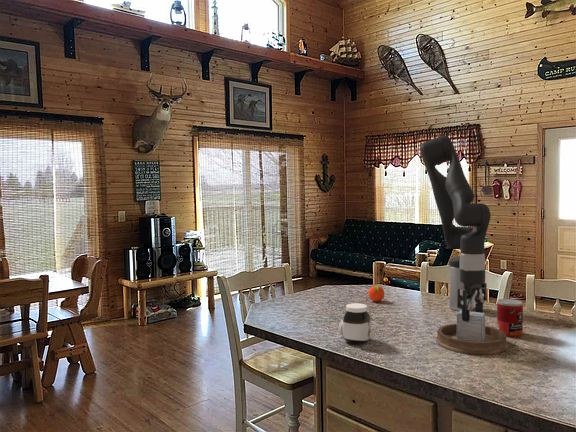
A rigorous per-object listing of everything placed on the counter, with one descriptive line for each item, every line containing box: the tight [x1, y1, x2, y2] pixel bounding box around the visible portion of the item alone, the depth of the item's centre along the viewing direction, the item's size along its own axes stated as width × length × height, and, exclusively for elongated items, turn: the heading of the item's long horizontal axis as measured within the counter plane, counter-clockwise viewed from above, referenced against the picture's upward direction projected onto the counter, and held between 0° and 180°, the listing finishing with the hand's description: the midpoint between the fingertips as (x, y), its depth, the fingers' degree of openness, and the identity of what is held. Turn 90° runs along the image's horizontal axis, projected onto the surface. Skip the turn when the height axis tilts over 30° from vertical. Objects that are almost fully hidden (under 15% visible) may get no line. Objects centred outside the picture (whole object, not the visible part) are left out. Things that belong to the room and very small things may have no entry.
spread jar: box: [337, 302, 372, 345], centre depth 158 cm, size 12×11×12 cm
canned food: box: [496, 298, 524, 338], centre depth 159 cm, size 8×8×11 cm
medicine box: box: [456, 310, 486, 342], centre depth 151 cm, size 8×4×9 cm, turn 58°
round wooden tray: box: [436, 323, 509, 356], centre depth 151 cm, size 21×21×4 cm
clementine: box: [368, 284, 385, 303], centre depth 208 cm, size 8×7×7 cm
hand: (472, 318), depth 151 cm, fingers open, 8 cm apart
